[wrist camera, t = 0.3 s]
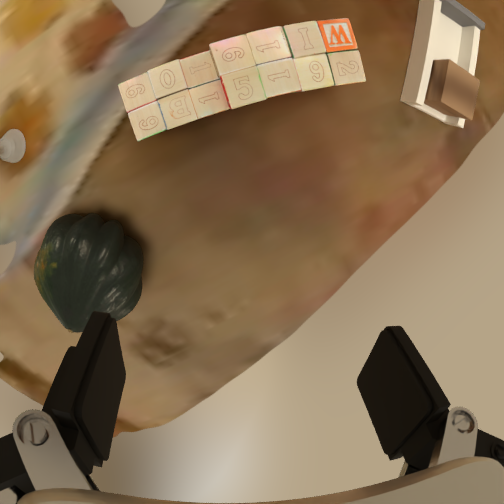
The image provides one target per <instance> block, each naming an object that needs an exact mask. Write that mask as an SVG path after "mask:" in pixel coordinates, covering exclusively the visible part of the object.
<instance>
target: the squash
mask: <svg viewBox="0 0 504 504" xmlns="http://www.w3.org/2000/svg"><path fill="white" fill-rule="evenodd" d="M142 268H143V255H142V250H141V247H140V245H139V244H138V243H137V242H136V241H135V240H134V239H132V238H131V237H129V236H125V235H124V232H123V228H122V225H121V224H120V223H119V222H118V221H117V220H110V221H108V222H106V223H104V221H103V220H102V218H101V217H100V216H99V215H97V214H94V213H91V214H88V215H87V216H85V217H82V216H80V215H77V214H68V215H65V216H62V217H60V218H58V219H57V220H55V221H54V222H53V223H52V225H51V226H50V227H49V229H48V231H47V233H46V235H45V238H44V240H43V243H42V246H41V249H40V250H39V252H38V254H37V257H36V260H35V265H34V279H35V282H36V285H37V287H38V290H39V292H40V294H41V296H42V297H43V299H44V300H45V302H46V303H47V305H48V306H49V307H50V309H51V310H52V312H53V313H54V314H55V316H56V317H57V318H58V320H59V321H60V322H61V324H62V325H63V326H64V327H65V328H66V329H68V331H69V332H71V333H73V332H83V331H84V328H85V326H86V324H87V322H88V320H89V318H90V316H91V314H92V312H93V311H98V312H105V313H110V315H111V318H115V319H116V321H118V320H120V319H122V318H123V317H125V316H126V315H127V314H128V313H130V312H131V311H132V310H133V309H134V307H135V306H136V304H137V303H138V301H139V299H140V296H141V292H142V277H141V273H142Z"/></svg>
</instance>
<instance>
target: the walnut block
mask: <svg viewBox="0 0 504 504" xmlns="http://www.w3.org/2000/svg"><path fill="white" fill-rule="evenodd" d="M479 85H480V80H479V79H477V78H476V77H474V76H473V75H472V74H470V73H469V72H468V71H466V70H465V69H463V68H462V67H460V66H459V65H457V64H456V63H454V62H453V61H451V60H450V59H441V60H433V63H432V68H431V73H430V78H429V83H428V87H427V92H426V96H425V100H424V104H426V105H428V106H430V107H431V108H433V109H435V110H437V111H439V112H441V113H442V114H444V115H448V116H453V117H458V118H463V119H467V120H472V119H473V114H474V110H475V105H476V100H477V95H478V90H479Z"/></svg>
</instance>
